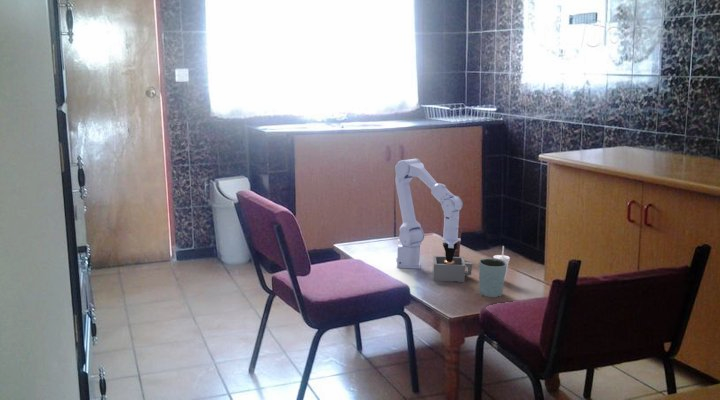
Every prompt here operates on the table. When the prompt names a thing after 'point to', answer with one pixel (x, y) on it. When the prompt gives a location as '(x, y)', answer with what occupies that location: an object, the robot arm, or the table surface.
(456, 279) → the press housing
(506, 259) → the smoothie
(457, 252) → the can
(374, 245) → the table surface
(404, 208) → the robot arm
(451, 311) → the table surface
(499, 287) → the teal plant pot
